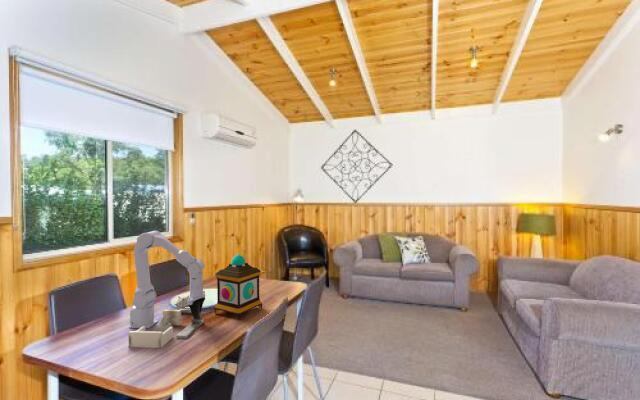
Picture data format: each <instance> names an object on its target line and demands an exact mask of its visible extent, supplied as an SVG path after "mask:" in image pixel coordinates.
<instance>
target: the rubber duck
mask: <svg viewBox="0 0 640 400" xmlns="http://www.w3.org/2000/svg"><path fill="white" fill-rule="evenodd" d="M158 324H159V325H158V326H157V331H160V332H164V331H166V330H167V329H168V328H169V327H172V325H171V323H169V318H168V317H167V316H166V315H165V317H163V316H162V317H161V319H160V322H159V323H158Z"/></svg>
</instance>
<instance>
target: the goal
mask: <svg viewBox="0 0 640 400" xmlns="http://www.w3.org/2000/svg"><path fill="white" fill-rule="evenodd" d="M127 336H128V348H149V349H151V348H157V349H158V348H159V349H161V348H162V347H164V346H165V345H166V344H167V343H168V342H169V341H171V340H172V338H174V327H173V326H171V327H169V328H168V329H167V330H166V331H164V332H160V331H158V330H157V331H153V330H151V331H149V330H148V331H147V330H146V328H145V326H142V327H141V328H137V329H136V330H129V331H128V335H127Z"/></svg>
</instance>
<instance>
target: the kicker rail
mask: <svg viewBox="0 0 640 400" xmlns="http://www.w3.org/2000/svg"><path fill="white" fill-rule="evenodd" d="M204 322H205V321H204V319H202V321H201V322H200V323H199V322H191V321H190V323H189V324H188V325H186V327H184V328H183V329H182V330H181V331H180V332H179V333H178V334H176V339H188V338H189V337H190V336H191V335H192V334H193V333H194V332H195V331H196V330H197V329H199V327H200V326H202V324H203V323H204Z"/></svg>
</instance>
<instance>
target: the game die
mask: <svg viewBox="0 0 640 400" xmlns="http://www.w3.org/2000/svg"><path fill="white" fill-rule="evenodd" d="M189 296H190V295H188V296H178V299H177V301H176V302H175V304H174V306H176V308H177V309H176V310H180V309H184V308H185V307H189V306H188V305H187V300H188V299H189Z"/></svg>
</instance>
